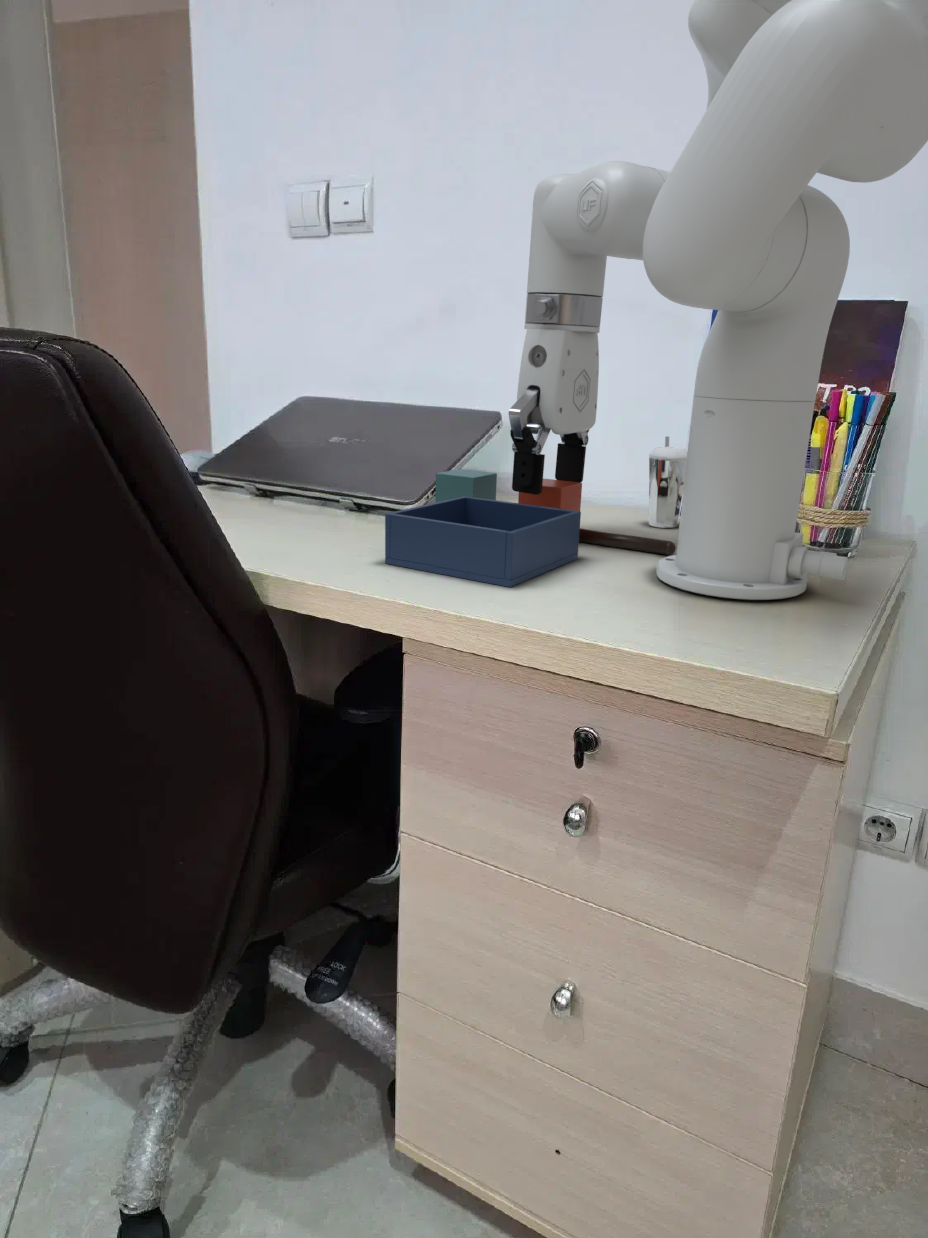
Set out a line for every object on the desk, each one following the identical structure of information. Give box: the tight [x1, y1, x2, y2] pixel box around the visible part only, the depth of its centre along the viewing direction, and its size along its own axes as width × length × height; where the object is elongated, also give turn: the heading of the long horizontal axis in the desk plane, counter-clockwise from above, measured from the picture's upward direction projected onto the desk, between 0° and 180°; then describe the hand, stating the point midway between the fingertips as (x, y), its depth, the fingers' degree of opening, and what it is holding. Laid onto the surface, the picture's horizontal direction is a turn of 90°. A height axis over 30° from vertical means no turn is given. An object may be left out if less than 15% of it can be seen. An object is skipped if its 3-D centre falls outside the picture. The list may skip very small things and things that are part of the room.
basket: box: [384, 496, 582, 588], centre depth 77 cm, size 13×13×5 cm
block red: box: [517, 477, 583, 512], centre depth 88 cm, size 5×5×5 cm
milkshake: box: [647, 436, 688, 529], centre depth 96 cm, size 4×5×10 cm
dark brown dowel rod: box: [579, 527, 677, 556], centre depth 89 cm, size 28×4×1 cm, turn 57°
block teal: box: [434, 468, 498, 503], centre depth 94 cm, size 5×5×5 cm
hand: (548, 486), depth 88 cm, fingers open, 9 cm apart
